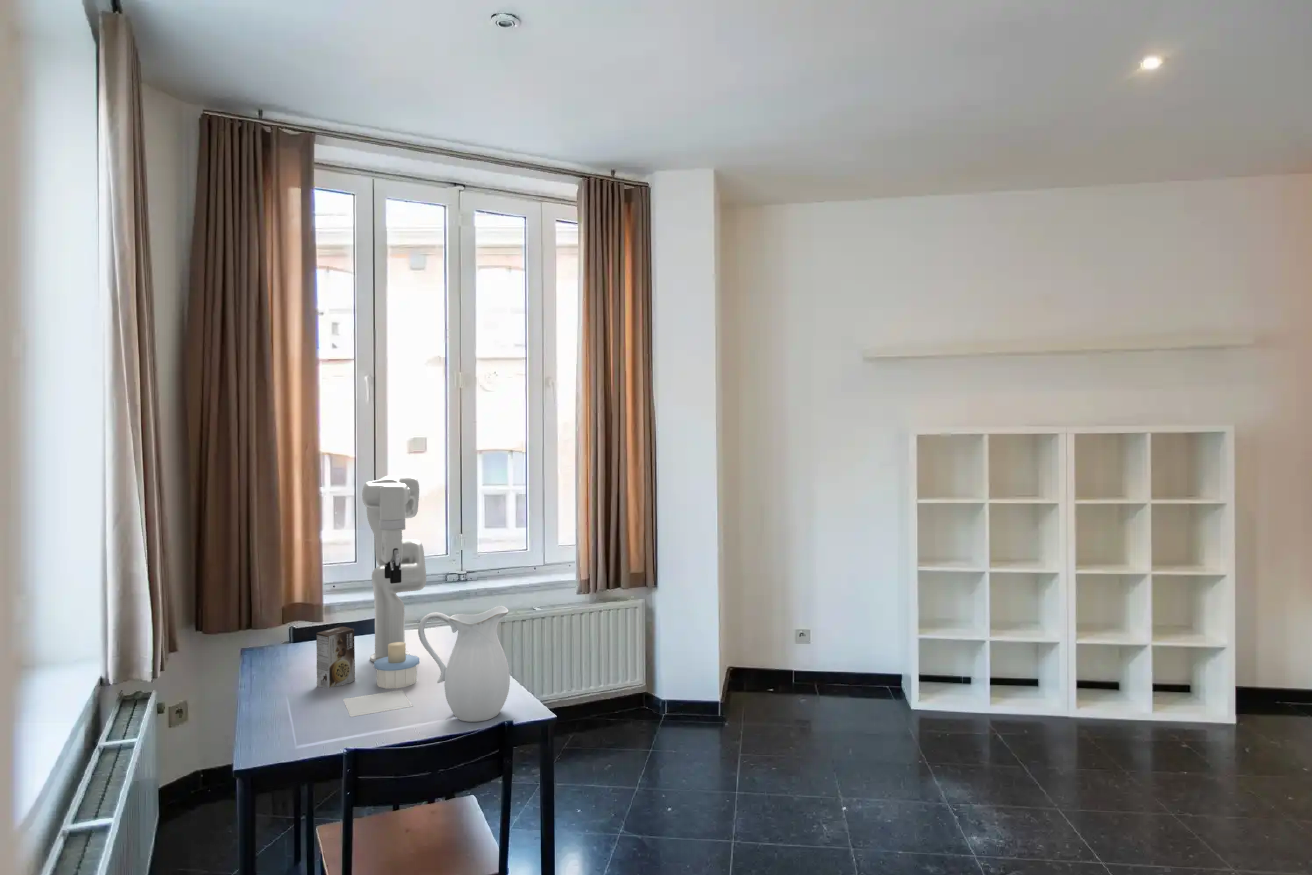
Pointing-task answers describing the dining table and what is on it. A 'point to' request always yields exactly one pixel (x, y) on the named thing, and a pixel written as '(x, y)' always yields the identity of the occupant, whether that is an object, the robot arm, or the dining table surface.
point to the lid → (396, 658)
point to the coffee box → (335, 657)
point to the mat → (376, 703)
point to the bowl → (396, 678)
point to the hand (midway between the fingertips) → (392, 580)
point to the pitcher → (473, 664)
